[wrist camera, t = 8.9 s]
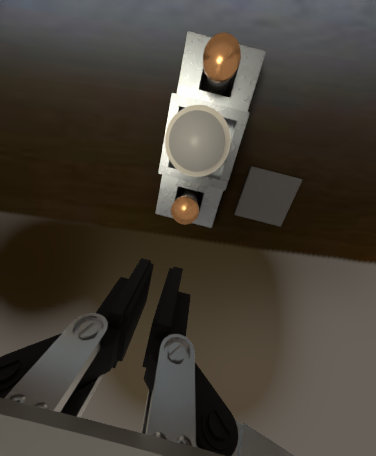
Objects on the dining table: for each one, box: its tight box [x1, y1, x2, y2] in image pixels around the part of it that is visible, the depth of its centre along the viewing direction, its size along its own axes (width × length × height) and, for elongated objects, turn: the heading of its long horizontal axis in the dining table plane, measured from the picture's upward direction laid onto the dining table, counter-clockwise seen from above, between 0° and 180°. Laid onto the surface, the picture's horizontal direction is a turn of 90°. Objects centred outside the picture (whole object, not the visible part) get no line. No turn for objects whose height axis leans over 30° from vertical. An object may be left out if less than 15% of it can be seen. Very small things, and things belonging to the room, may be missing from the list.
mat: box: [234, 166, 303, 227], centre depth 31 cm, size 8×8×1 cm
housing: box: [156, 32, 266, 228], centre depth 26 cm, size 22×9×8 cm, turn 167°
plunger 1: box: [171, 189, 199, 224], centre depth 28 cm, size 4×4×8 cm
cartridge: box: [165, 105, 231, 177], centre depth 20 cm, size 5×5×13 cm
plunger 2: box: [203, 33, 241, 95], centre depth 22 cm, size 4×4×8 cm
